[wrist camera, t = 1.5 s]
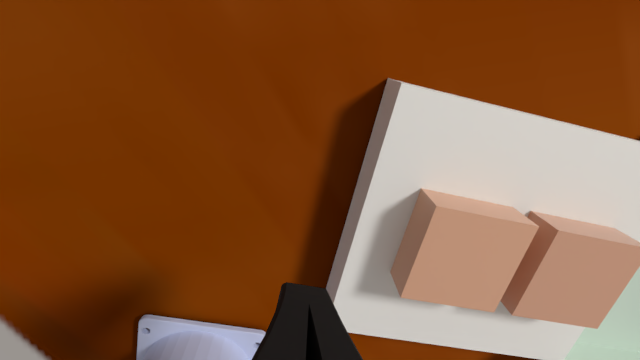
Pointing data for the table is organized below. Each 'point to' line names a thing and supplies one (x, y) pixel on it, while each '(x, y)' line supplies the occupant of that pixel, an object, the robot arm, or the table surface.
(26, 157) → the table surface
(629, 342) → the box
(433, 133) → the board
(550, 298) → the tile
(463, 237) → the tile
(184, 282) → the table surface
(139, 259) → the table surface
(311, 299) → the robot arm
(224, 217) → the table surface
